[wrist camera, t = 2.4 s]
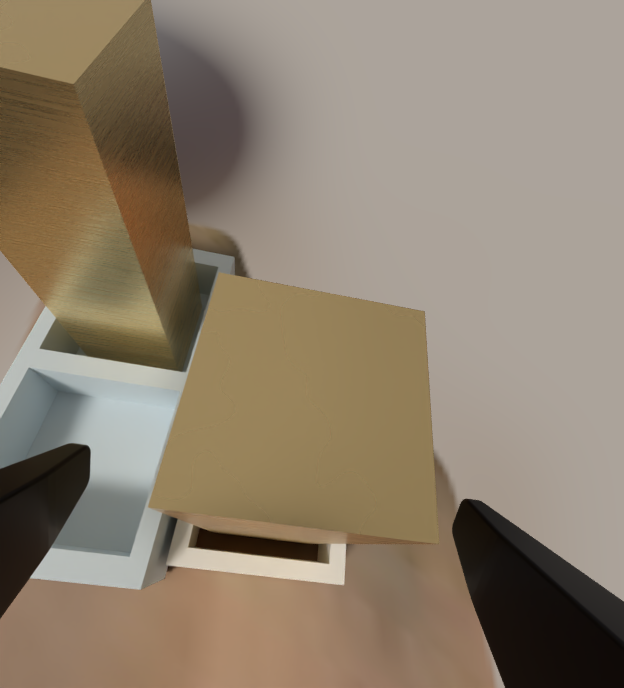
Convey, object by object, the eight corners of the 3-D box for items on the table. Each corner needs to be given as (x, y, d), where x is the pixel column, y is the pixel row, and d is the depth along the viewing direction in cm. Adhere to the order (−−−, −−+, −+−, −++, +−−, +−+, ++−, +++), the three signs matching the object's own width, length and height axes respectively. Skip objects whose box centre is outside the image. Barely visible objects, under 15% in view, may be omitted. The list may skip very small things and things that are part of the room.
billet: (305, 543, 16) (438, 544, 5) (213, 532, 15) (147, 507, 5) (314, 448, 18) (424, 304, 7) (233, 436, 18) (220, 265, 7)
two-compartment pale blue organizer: (164, 578, 14) (140, 589, 11) (-17, 558, 14) (-104, 564, 10) (235, 303, 21) (234, 256, 18) (116, 281, 21) (90, 228, 17)
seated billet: (180, 376, 17) (73, 84, 6) (92, 361, 17) (-187, 23, 6) (202, 304, 19) (151, -9, 8) (124, 290, 19) (-37, -57, 8)
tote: (329, 579, 15) (344, 585, 13) (176, 562, 15) (165, 565, 13) (339, 431, 19) (352, 416, 16) (213, 411, 18) (210, 393, 16)
